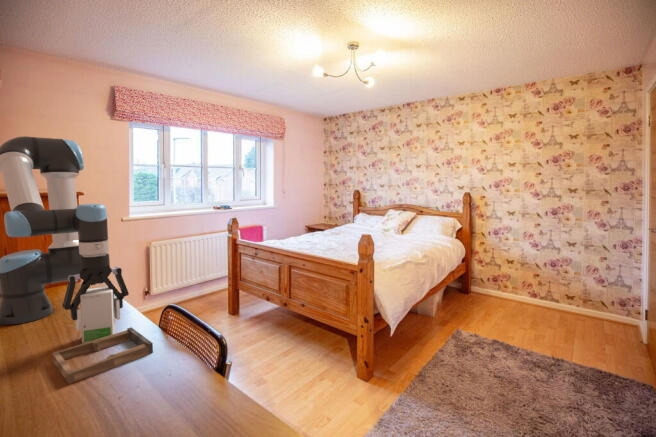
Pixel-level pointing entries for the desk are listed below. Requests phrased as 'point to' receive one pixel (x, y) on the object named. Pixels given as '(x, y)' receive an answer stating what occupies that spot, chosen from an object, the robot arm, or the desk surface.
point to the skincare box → (97, 314)
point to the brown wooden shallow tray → (111, 361)
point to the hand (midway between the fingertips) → (98, 323)
